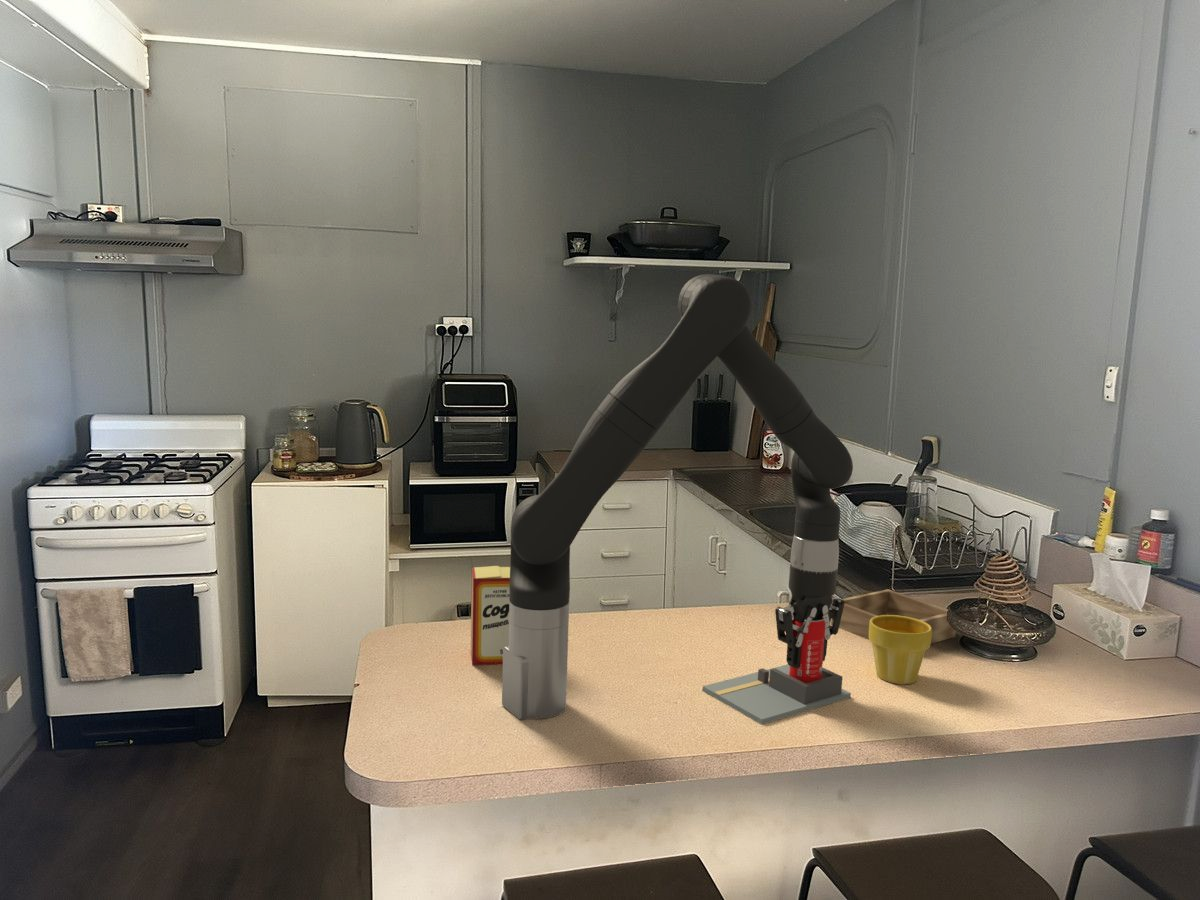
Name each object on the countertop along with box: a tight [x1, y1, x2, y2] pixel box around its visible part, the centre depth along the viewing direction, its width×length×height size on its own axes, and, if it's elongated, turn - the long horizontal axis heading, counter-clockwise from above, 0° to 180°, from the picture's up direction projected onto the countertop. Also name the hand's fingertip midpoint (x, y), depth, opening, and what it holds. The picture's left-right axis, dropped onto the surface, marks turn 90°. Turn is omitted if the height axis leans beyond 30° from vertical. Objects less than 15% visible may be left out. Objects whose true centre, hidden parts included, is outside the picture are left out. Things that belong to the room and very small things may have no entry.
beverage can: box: [789, 617, 826, 683], centre depth 148 cm, size 5×5×12 cm
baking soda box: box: [470, 565, 510, 666], centre depth 159 cm, size 10×6×16 cm
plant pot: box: [869, 614, 932, 685], centre depth 157 cm, size 10×10×10 cm
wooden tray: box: [830, 589, 957, 644], centre depth 181 cm, size 17×17×5 cm
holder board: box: [702, 663, 852, 725], centre depth 148 cm, size 20×14×4 cm
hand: (806, 662), depth 148 cm, fingers closed on beverage can, 5 cm apart
